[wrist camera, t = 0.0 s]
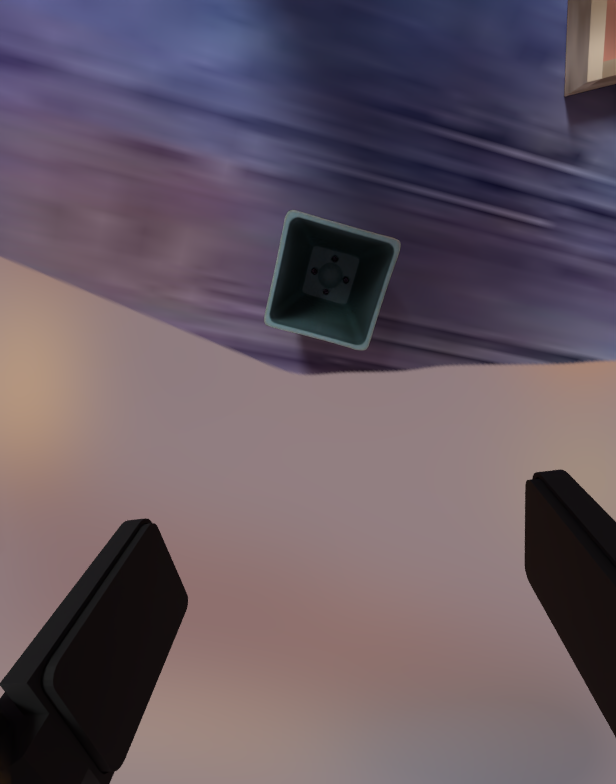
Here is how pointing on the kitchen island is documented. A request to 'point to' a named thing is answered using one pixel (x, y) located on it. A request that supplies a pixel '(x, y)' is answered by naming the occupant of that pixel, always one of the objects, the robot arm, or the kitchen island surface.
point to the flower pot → (329, 280)
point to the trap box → (590, 45)
